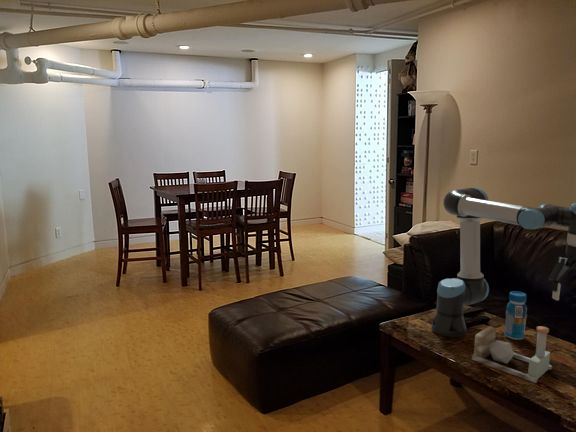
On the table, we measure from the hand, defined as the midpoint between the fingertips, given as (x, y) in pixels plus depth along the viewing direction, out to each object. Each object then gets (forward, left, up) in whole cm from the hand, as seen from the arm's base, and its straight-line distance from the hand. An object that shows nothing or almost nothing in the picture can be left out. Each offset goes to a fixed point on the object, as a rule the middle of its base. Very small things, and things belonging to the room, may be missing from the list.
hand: (571, 298), depth 180 cm
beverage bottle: (-24, +11, -27) cm, 38 cm away
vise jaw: (-4, -16, -27) cm, 31 cm away
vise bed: (-14, -16, -27) cm, 34 cm away
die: (-18, -16, -27) cm, 36 cm away
